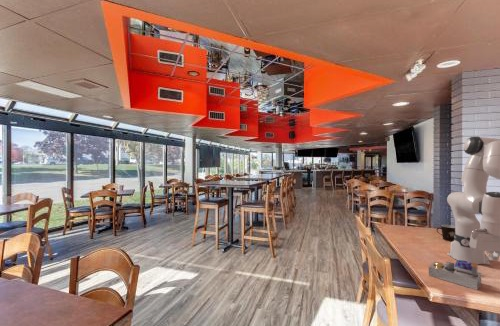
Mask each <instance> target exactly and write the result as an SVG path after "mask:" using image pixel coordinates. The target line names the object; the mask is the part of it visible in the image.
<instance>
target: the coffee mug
mask: <svg viewBox="0 0 500 326" xmlns="http://www.w3.org/2000/svg"><path fill="white" fill-rule="evenodd" d="M439 229H441V233H440V232H439V231H438V230H439ZM436 232H437V233H438V234H439V235H440V236H441V237H442V240H443V241H446V242H453V241H454V240H455V239H454V234H455V225H450V224H441V225H440V227H437V229H436Z"/></svg>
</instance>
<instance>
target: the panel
mask: <svg viewBox="0 0 500 326" xmlns="http://www.w3.org/2000/svg"><path fill="white" fill-rule="evenodd" d="M435 262H436V261H433V262H432V263H431V264H429V266H428V276H430V277H433V278H435V279H439V280H442V281H446V282H449V283H453V284H456V285H458V286H463V287H466V288H469V289H473V290H475V291H478V289H479V288H480V286H481V284H482V273H481V272H479V273H478V275H477V276H472V271H470V270H466V269H462V268H458V267H454V271H451V270H448V269H446V263H442V264H443V268H440V267H436V266H435Z"/></svg>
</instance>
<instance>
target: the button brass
mask: <svg viewBox="0 0 500 326" xmlns="http://www.w3.org/2000/svg"><path fill="white" fill-rule="evenodd" d="M434 262H435V266H436V267H440V268H443V264H444V263H443V262H439V261H434Z"/></svg>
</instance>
